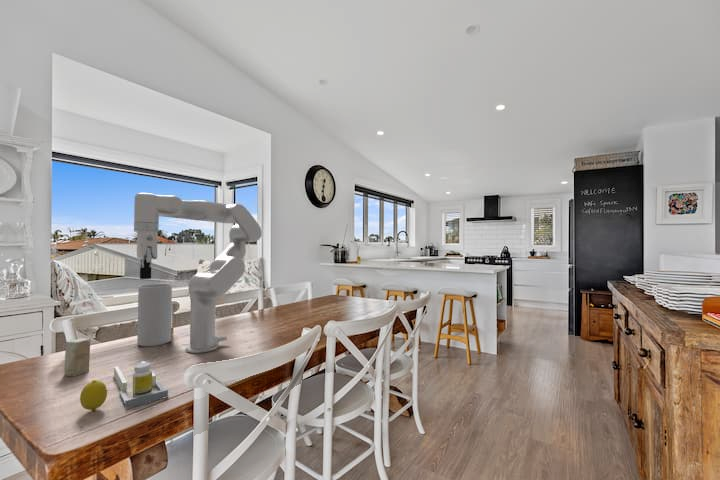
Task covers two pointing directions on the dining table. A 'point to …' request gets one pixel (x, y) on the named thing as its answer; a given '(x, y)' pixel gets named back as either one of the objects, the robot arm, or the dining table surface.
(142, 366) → the supplement bottle
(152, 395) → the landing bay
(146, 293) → the cylinder vase
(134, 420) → the dining table surface
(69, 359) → the box
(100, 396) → the lemon
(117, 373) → the chute
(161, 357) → the dining table surface
